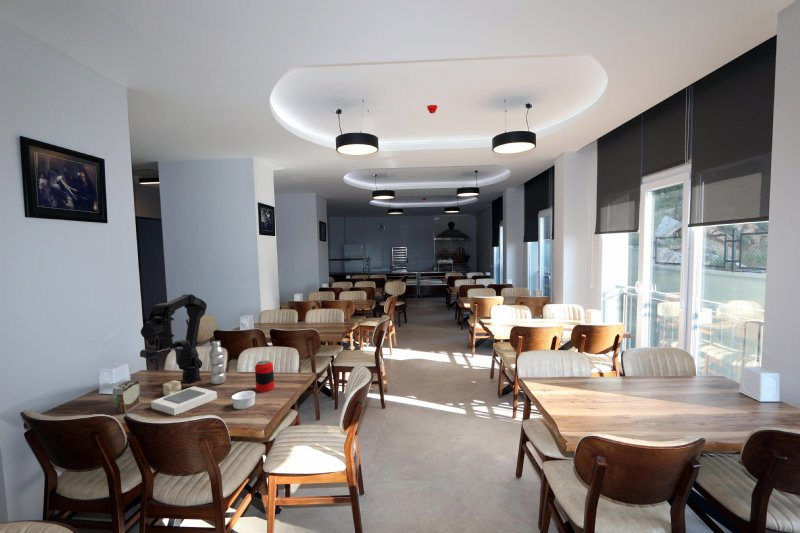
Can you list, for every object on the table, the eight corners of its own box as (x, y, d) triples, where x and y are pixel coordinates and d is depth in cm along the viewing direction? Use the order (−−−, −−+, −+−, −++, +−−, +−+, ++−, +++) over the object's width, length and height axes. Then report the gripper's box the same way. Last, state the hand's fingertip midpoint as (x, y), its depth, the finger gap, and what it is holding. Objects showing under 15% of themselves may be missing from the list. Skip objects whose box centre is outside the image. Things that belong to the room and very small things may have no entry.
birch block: (174, 391, 174) (174, 380, 173) (181, 392, 171) (180, 381, 171) (163, 395, 169) (162, 383, 169) (170, 396, 167) (169, 385, 167)
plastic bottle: (207, 385, 179) (204, 342, 178) (219, 380, 185) (216, 339, 184) (217, 386, 177) (215, 343, 176) (229, 381, 183) (226, 340, 182)
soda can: (262, 385, 176) (260, 359, 175) (277, 386, 174) (276, 360, 173) (252, 392, 168) (251, 365, 168) (268, 392, 167) (266, 365, 166)
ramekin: (255, 408, 151) (254, 397, 151) (230, 411, 149) (230, 400, 149) (256, 399, 160) (256, 389, 160) (233, 402, 157) (233, 392, 157)
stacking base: (194, 392, 171) (193, 385, 170) (217, 398, 163) (216, 390, 163) (151, 408, 155) (151, 400, 155) (174, 415, 147) (174, 407, 147)
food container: (126, 403, 161) (124, 379, 161) (141, 402, 162) (140, 378, 161) (106, 416, 149) (104, 390, 149) (123, 414, 150) (121, 389, 149)
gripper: (174, 326, 180) (177, 359, 181) (131, 336, 164) (134, 372, 165) (189, 328, 175) (192, 362, 176) (145, 338, 158) (149, 375, 160)
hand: (167, 367), depth 169 cm, fingers open, 9 cm apart
